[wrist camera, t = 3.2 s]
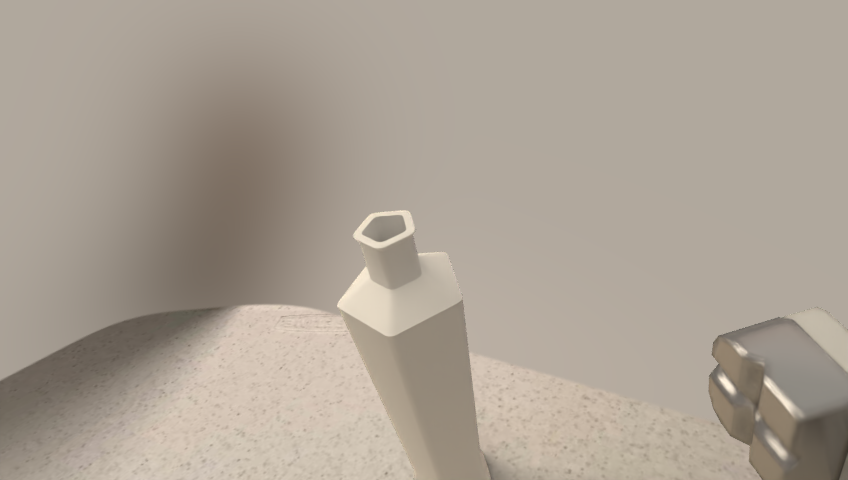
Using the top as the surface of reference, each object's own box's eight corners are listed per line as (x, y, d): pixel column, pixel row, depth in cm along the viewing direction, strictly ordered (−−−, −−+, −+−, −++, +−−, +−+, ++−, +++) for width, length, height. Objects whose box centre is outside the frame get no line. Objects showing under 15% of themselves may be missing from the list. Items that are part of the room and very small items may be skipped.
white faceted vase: (483, 542, 28) (417, 282, 19) (395, 510, 30) (299, 261, 21) (518, 455, 31) (475, 196, 22) (436, 431, 33) (367, 185, 24)
